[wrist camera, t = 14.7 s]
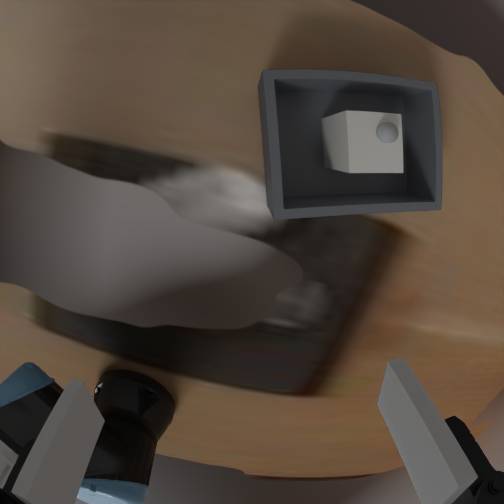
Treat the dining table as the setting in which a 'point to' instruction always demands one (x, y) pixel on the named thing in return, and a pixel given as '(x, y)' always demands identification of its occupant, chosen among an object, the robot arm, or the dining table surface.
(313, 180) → the bin
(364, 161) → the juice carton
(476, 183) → the dining table surface
